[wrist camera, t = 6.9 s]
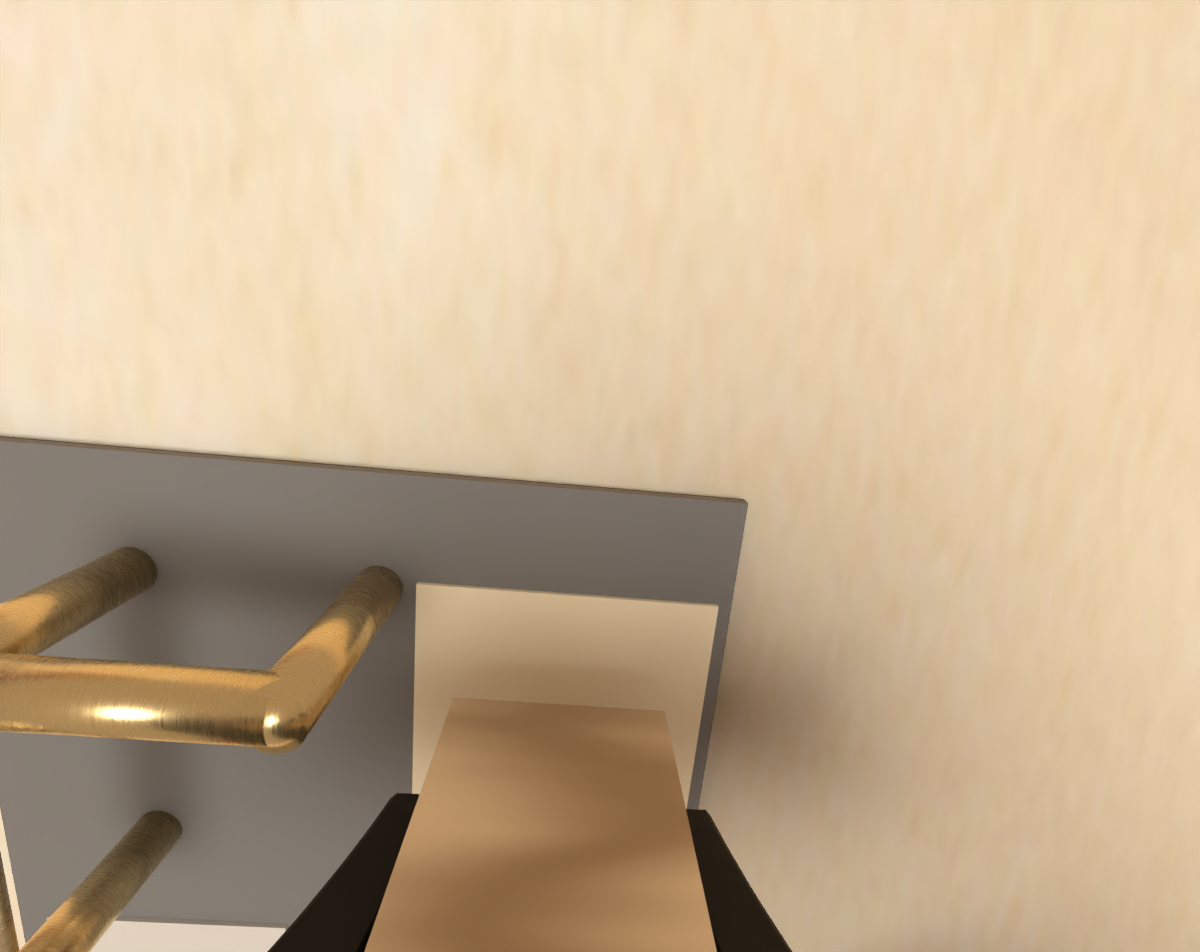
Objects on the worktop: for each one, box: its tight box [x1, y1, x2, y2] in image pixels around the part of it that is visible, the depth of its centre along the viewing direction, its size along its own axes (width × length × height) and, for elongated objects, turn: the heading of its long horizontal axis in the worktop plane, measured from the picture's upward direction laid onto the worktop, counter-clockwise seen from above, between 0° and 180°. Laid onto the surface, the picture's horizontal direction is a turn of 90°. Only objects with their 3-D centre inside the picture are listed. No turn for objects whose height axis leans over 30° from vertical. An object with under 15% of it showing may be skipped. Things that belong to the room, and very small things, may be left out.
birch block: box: [364, 698, 717, 952], centre depth 8 cm, size 4×4×6 cm
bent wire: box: [0, 547, 403, 952], centre depth 11 cm, size 6×8×4 cm
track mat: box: [0, 437, 748, 952], centre depth 14 cm, size 16×17×1 cm
